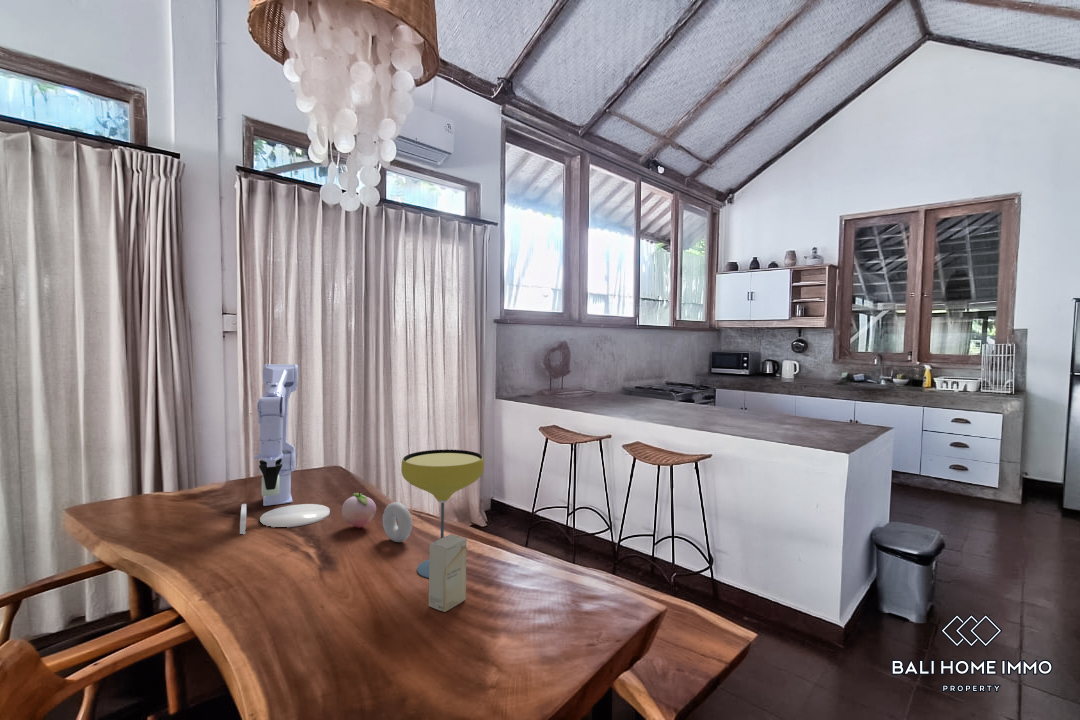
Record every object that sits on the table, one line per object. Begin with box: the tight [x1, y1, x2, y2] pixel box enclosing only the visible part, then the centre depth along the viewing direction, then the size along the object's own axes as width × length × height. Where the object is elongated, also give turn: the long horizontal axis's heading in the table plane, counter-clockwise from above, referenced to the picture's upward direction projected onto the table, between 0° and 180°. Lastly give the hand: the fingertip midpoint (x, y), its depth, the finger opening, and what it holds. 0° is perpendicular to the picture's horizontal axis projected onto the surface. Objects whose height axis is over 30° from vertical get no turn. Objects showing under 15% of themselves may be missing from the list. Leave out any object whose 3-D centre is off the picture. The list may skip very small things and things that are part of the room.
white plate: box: [259, 503, 331, 528], centre depth 141 cm, size 18×18×1 cm
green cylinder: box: [261, 475, 279, 497], centre depth 137 cm, size 4×4×5 cm
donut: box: [382, 501, 413, 543], centre depth 124 cm, size 10×3×10 cm, turn 53°
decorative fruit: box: [341, 491, 377, 529], centre depth 132 cm, size 9×8×10 cm
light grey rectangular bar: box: [239, 503, 247, 535], centre depth 134 cm, size 18×1×3 cm, turn 30°
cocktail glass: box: [400, 449, 485, 579], centre depth 109 cm, size 18×18×25 cm
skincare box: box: [428, 533, 468, 613], centre depth 94 cm, size 6×4×12 cm
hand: (270, 487), depth 137 cm, fingers closed on green cylinder, 4 cm apart
